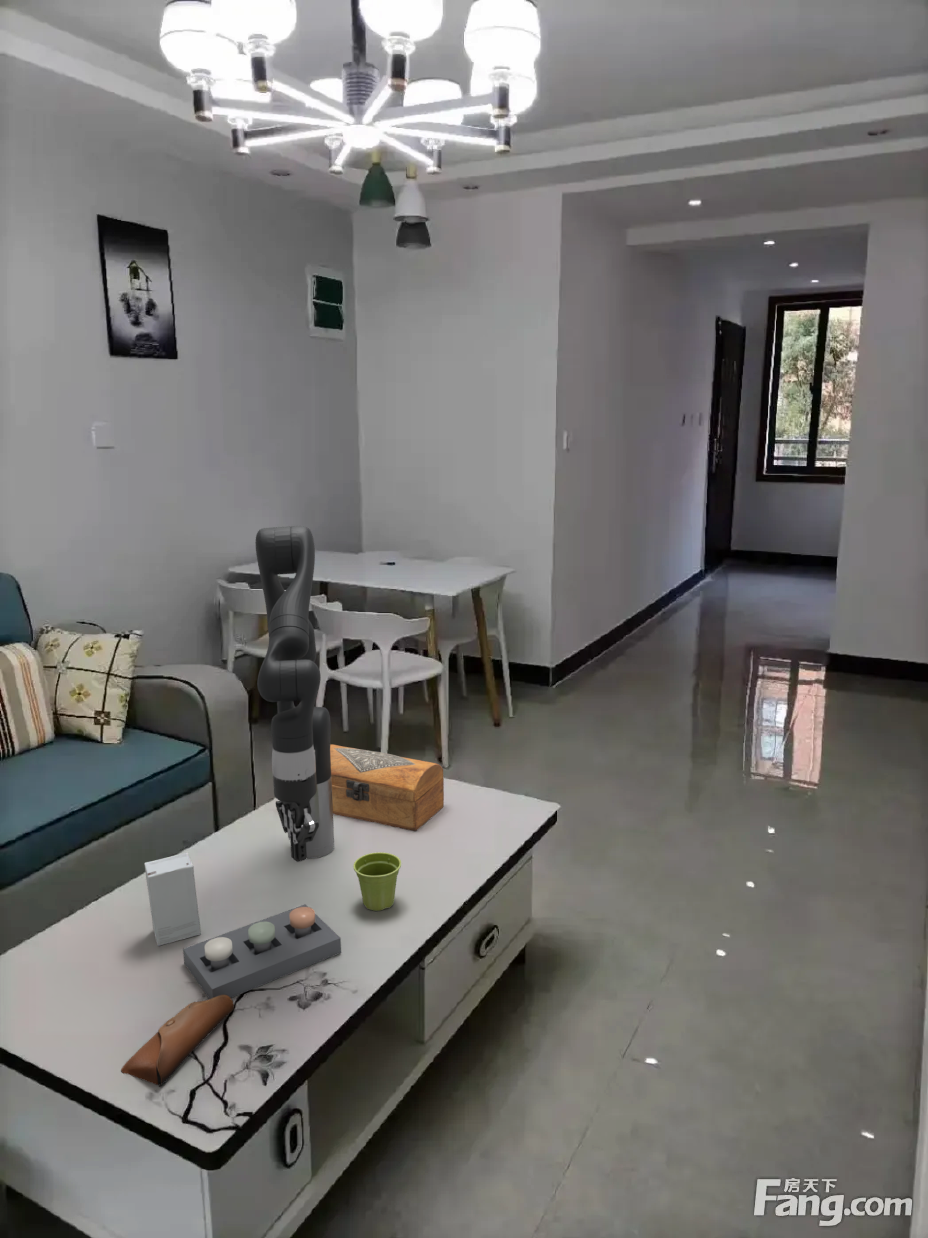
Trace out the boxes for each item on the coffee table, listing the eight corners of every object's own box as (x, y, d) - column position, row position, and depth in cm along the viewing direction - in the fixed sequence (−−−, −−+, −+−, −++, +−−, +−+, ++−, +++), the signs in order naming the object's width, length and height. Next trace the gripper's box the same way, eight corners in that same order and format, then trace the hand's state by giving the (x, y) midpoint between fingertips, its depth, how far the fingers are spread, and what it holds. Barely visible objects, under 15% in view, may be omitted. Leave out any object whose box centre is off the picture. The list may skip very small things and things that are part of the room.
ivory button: (202, 965, 155) (200, 943, 154) (227, 956, 157) (225, 934, 156) (212, 979, 151) (210, 956, 150) (237, 969, 154) (236, 946, 153)
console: (184, 963, 158) (182, 948, 157) (306, 918, 172) (305, 904, 171) (213, 1005, 147) (212, 989, 146) (341, 952, 161) (340, 938, 160)
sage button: (245, 949, 159) (244, 927, 158) (269, 940, 162) (268, 918, 161) (256, 961, 156) (254, 939, 155) (280, 952, 158) (278, 930, 157)
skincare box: (196, 920, 171) (190, 850, 168) (201, 936, 166) (195, 864, 162) (150, 931, 168) (143, 860, 164) (154, 948, 162) (147, 875, 159)
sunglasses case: (192, 999, 148) (206, 973, 146) (224, 1026, 147) (239, 1000, 144) (116, 1073, 132) (130, 1046, 129) (151, 1104, 131) (166, 1077, 128)
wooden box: (305, 811, 217) (303, 758, 214) (343, 785, 232) (341, 736, 228) (412, 836, 205) (411, 780, 201) (445, 807, 219) (444, 754, 216)
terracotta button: (286, 933, 164) (285, 912, 163) (308, 925, 167) (307, 904, 166) (297, 945, 160) (296, 923, 159) (320, 936, 163) (319, 915, 162)
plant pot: (395, 918, 171) (393, 878, 169) (348, 913, 173) (346, 873, 171) (407, 893, 180) (406, 854, 178) (363, 888, 182) (361, 850, 180)
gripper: (258, 763, 159) (264, 851, 163) (291, 788, 148) (296, 881, 152) (296, 753, 163) (301, 839, 167) (331, 776, 153) (335, 867, 157)
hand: (299, 859), depth 160 cm, fingers closed
